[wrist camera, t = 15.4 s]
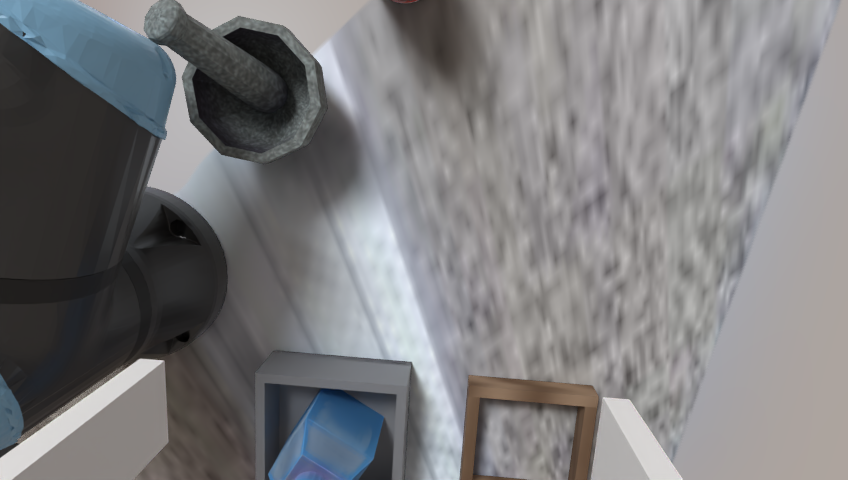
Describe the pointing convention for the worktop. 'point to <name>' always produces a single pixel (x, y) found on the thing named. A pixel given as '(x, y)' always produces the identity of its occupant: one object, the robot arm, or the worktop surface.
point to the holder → (531, 392)
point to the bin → (307, 373)
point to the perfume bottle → (330, 440)
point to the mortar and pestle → (244, 82)
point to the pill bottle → (405, 1)
